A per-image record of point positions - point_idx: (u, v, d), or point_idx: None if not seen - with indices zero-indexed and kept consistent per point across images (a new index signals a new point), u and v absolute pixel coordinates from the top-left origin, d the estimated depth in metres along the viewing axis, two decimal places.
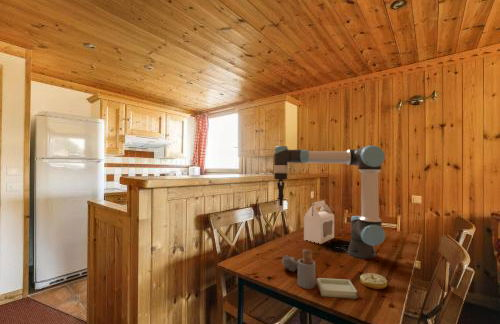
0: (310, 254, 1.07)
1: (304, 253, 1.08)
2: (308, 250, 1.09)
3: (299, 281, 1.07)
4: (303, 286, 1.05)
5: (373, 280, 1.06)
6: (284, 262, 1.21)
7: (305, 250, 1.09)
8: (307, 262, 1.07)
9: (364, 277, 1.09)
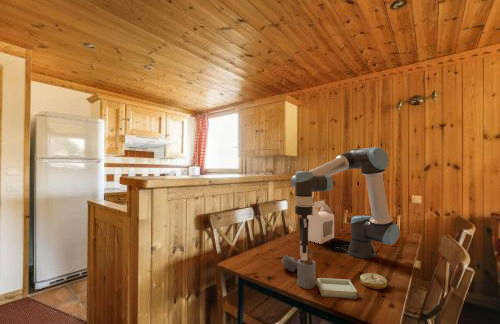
0: (310, 254, 1.07)
1: None
2: (308, 250, 1.09)
3: (299, 281, 1.07)
4: (303, 286, 1.05)
5: (373, 280, 1.06)
6: (284, 262, 1.21)
7: None
8: (307, 262, 1.07)
9: (364, 277, 1.09)
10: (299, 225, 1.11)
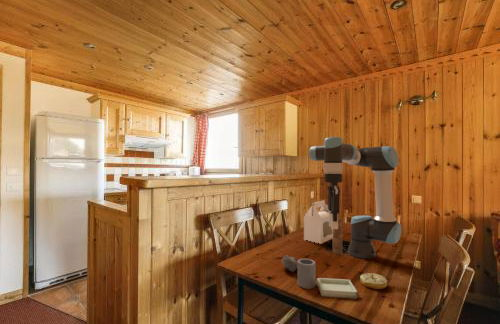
0: (341, 223, 1.03)
1: None
2: (338, 219, 1.04)
3: (299, 281, 1.07)
4: (303, 286, 1.05)
5: (373, 280, 1.06)
6: (284, 262, 1.21)
7: None
8: (337, 231, 1.02)
9: (364, 277, 1.09)
10: (328, 194, 1.07)
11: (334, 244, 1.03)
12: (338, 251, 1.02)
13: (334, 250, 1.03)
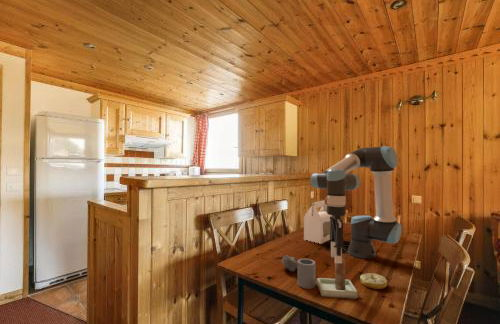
0: (344, 258, 1.02)
1: None
2: None
3: (299, 281, 1.07)
4: (303, 286, 1.05)
5: (373, 280, 1.06)
6: (284, 262, 1.21)
7: None
8: (340, 267, 1.01)
9: (364, 277, 1.09)
10: (331, 226, 1.06)
11: (337, 280, 1.02)
12: (341, 287, 1.01)
13: (337, 286, 1.02)
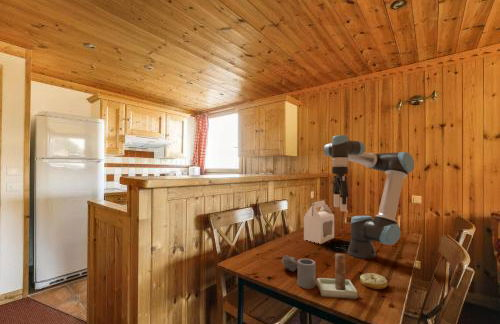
0: (344, 258, 1.02)
1: (337, 258, 1.02)
2: (341, 255, 1.03)
3: (299, 281, 1.07)
4: (303, 286, 1.05)
5: (373, 280, 1.06)
6: (284, 262, 1.21)
7: (338, 255, 1.03)
8: (340, 267, 1.01)
9: (364, 277, 1.09)
10: (334, 183, 1.25)
11: (337, 280, 1.02)
12: (341, 287, 1.01)
13: (337, 286, 1.02)
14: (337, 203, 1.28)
